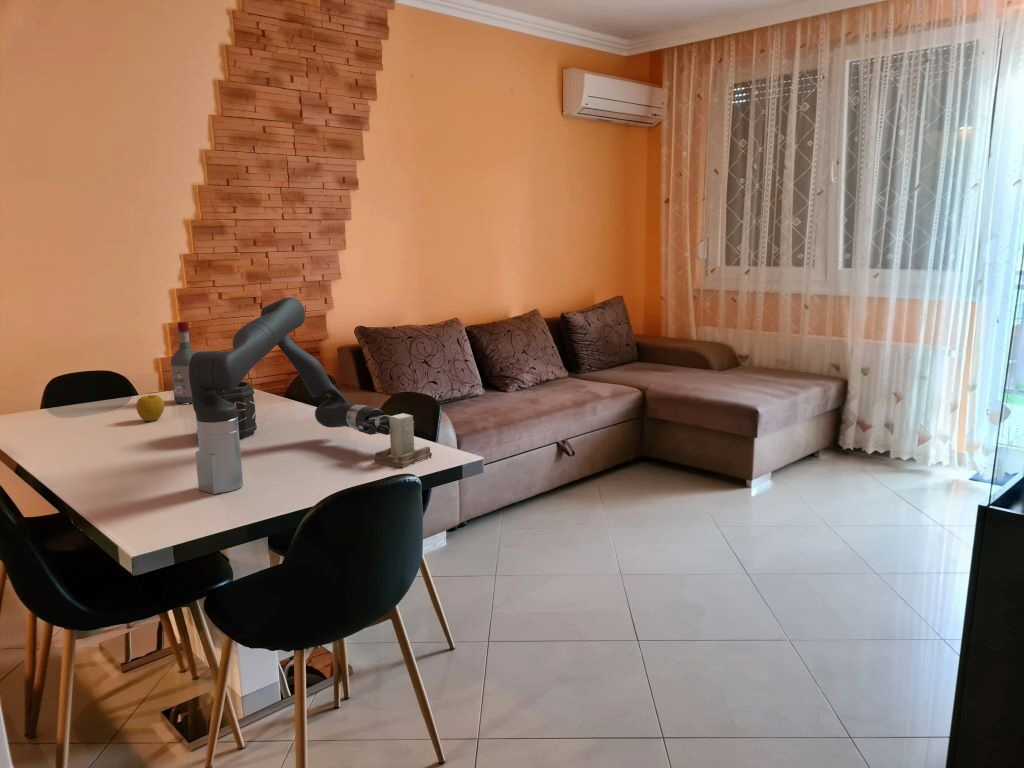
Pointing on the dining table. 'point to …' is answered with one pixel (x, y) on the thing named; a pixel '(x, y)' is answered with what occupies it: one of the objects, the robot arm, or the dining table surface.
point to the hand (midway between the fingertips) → (401, 428)
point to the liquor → (182, 366)
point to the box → (401, 434)
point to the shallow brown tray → (402, 457)
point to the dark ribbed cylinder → (242, 407)
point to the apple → (150, 407)
